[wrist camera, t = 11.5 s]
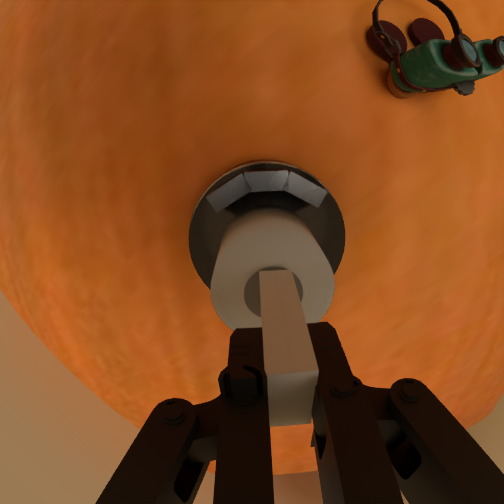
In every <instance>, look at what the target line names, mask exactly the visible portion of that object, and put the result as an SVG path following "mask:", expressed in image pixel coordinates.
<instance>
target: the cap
mask: <svg viewBox="0 0 504 504" xmlns="http://www.w3.org/2000/svg"><path fill="white" fill-rule="evenodd" d="M274 270H292V274H293V277H294V281H295V284H296V288H297V291H298V295H299V298H300V302H301V306H302V309H303V313H304V316H305V320H306V323H318V322H319V321H320V320H321V319H322V318H323V316H324V315H325V314H326V312H327V310H328V309H329V307H330V305H331V302H332V299H333V296H334V289H335V281H334V274H333V271H332V268H331V266H330V264H329V262H328V260H327V258H326V256H325V255H324V253H323V251H322V250H321V248H320V246H319V244H318V243H317V241H316V239H315V238H314V236H313V234H312V233H311V231H310V229H309V228H308V226H307V225H306V223H305V222H304V220H303V219H302V218H301V217H300V216H299V215H297V214H296V213H295V212H293V211H292V210H290V209H288V208H285V207H283V206H279V205H273V204H263V205H257V206H253V207H250V208H248V209H246V210H244V211H242V212H241V213H239V214H238V215H237V216H235V217H234V218H233V219H232V221H231V222H230V223H229V224H228V226H227V228H226V229H225V232H224V234H223V237H222V241H221V245H220V249H219V252H218V256H217V260H216V264H215V268H214V272H213V276H212V280H211V288H210V291H211V299H212V303H213V306H214V309H215V311H216V312H217V314H218V316H219V317H220V319H221V320H222V321H223V322H224V323H225V324H226V325H227V326H228V327H229V328H230V329H232V330H233V331H235V329H236V328H255V327H262V323H261V302H260V280H259V271H274Z"/></svg>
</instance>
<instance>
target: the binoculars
mask: <svg viewBox="0 0 504 504" xmlns="http://www.w3.org/2000/svg"><path fill="white" fill-rule="evenodd" d="M381 1H383V0H379V1H378V3H377V5H376V7H375V8H374V10H373V12H372V19H373V25H372V26H371V27H370V29H369V30H368V32H367V37H368V40H369V42H370V43H371V45H372V46H373V47H374V49H375V50H377V51H378V52H379V53H380V54H381V55H383V56H384V57H386V58H388V59H390V61H391V65H390V68H391V69H390V70H389V73H388V76H387V85H388V88H389V90H390V91H391V93H392V94H393V95H394V96H396V97H398V98H407V97H411V96H413V95H414V94H415V93H416V92H435V91H444V90H448V89H451V88H454V90H455V91H457V92H458V94H460V95H463V96H466V95H469V94H472V93H473V91H474V89H475V88H474V85H475V83H474V81H476V80H478V79H481V78H484V77H487V76H490V75H493V74H495V73H497V72H499V71H501V70H502V69H503V68H504V36H499V37H497V38H496V39H494V40H493V41H492V40H490V39H485V40H480V41H476V42H472V41H471V39H470V38H469V37H468V36H466V35H465V34H463V33H462V29H460V27H459V24H458V21H457V19H456V17H455V16H454V14H453V12H452V11H451V10H450V9H449V8H448V7H447V6H446V5H445V4H444V3H443V2H442V1H440V0H427V1H429V2H431V3H432V4H434V5H436V6H437V7H438V8H439V9H440V10H441V11H442V12H443V13H444V14H445V15H446V16H447V18H448V20H449V22H450V23H451V26H452V29H453V32H454V38H453V39H452V40H451V41H449V40H445V39H444V35H443V33H442V31H441V30H440V28H439V27H438V26H437V25H436V24H435V23H433V22H432V21H430V20H428V19H424V18H418V19H416V20H414V22H413V23H412V24H411V26H410V27H409V36H410V38H411V40H412V42H413V43H414V44H415V45H416V47H414V48H413V49H411V50H409V51H407V41H406V38H405V36H404V34H403V33H402V31H401V30H400V29H399V28H398V27H396V26H395V25H394V24H392V23H390V22H388V21H383V20H380V21H378V7H379V5H380V3H381ZM406 51H407V52H406Z"/></svg>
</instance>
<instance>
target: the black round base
mask: <svg viewBox="0 0 504 504" xmlns="http://www.w3.org/2000/svg"><path fill="white" fill-rule="evenodd" d="M263 204H273V205H279V206H283V207H285V208H288V209H290V210H292V211H293V212H295V213H296V214H297V215H299V216H300V217H301V218H302V219H303V220H304V222H305V223H306V225H307V226H308V228H309V229H310V231H311V233H312V234H313V236H314V238H315V239H316V241H317V243H318V244H319V246H320V248H321V250H322V251H323V253H324V255H325V256H326V258H327V260H328V262H329V264H330V266H331V268H332V271H333V274H335V272H336V271H337V269H338V267H339V264H340V262H341V259H342V256H343V252H344V246H345V227H344V221H343V218H342V214H341V211H340V209H339V207H338V205H337V203H336V201H335V199H334V198H333V196H332V195H331V193H330V192H329V190H328V189H327V188H326V187H325V186H324V185H323V184H322V183H321V182H320V181H319V180H318V179H317V178H315V177H314V176H312V175H311V174H309V173H308V172H306V171H305V170H303V169H300V168H298V167H296V166H293V165H291V164H288V163H285V162H282V161H276V160H254V161H250V162H246V163H243V164H240V165H238V166H235V167H233V168H232V169H230V170H228V171H227V172H225V173H224V174H223V175H221V176H220V177H219V178H218V179H217V180H215V181H214V182H213V183H212V184H211V185H210V186H209V187H208V189H207V190H206V191H205V192H204V194H203V195H202V197H201V198H200V200H199V202H198V203H197V205H196V207H195V210H194V213H193V215H192V219H191V224H190V229H189V249H190V254H191V258H192V261H193V264H194V267H195V269H196V271H197V273H198V275H199V276H200V278H201V279H202V281H203V282H204V283H205V284H206V286H207V287H208V288H209V289H210V288H211V280H212V276H213V272H214V268H215V264H216V260H217V256H218V252H219V249H220V245H221V241H222V237H223V234H224V232H225V229H226V228H227V226H228V224H229V223H230V222H231V221H232V219H233V218H234V217H235V216H237V215H238V214H239V213H241V212H242V211H244V210H246V209H248V208H250V207H253V206H257V205H263Z"/></svg>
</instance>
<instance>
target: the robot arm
mask: <svg viewBox="0 0 504 504" xmlns="http://www.w3.org/2000/svg"><path fill="white" fill-rule="evenodd" d="M259 280H260V302H261V323H262V327H255V328H236V329H235V331H234V332H233V334H232V335H231V336H230V344H229V356H228V366H227V367H226V368H225V369H224V370H223V371H221V372H220V375H219V377H218V382H219V387H220V392H221V394H220V395H219V396H218V397H217V398H215V399H213V400H211V401H209V402H205V403H201V404H197V405H192V404H191V403H190V402H189V401H187V400H184V399H180V398H172V399H167V400H164V401H162V402H161V403H159V404H158V405H157V406H156V407H155V408H154V409H153V411H152V412H151V414H150V416H149V417H148V419H147V420H146V422H145V424H144V425H143V427H142V429H141V430H140V432H139V433H138V435H137V437H136V438H135V440H134V442H133V443H132V445H131V446H130V448H129V450H128V452H127V453H126V455H125V456H124V458H123V460H122V461H121V463H120V464H119V466H118V468H117V469H116V471H115V472H114V474H113V476H112V478H111V479H110V481H109V482H108V484H107V485H106V487H105V489H104V490H103V492H102V494H101V495H100V497H99V498H98V500H97V502H96V504H193V501H194V499H195V497H196V495H197V491H198V490H199V487H200V485H201V483H202V480H203V477H204V475H205V473H206V471H207V468H208V466H209V463H210V461H213V460H216V471H215V485H214V498H213V504H274V492H273V491H274V490H273V473H272V456H271V439H270V427H274V426H288V425H299V424H309V423H311V420H312V418H313V424H314V430H313V435H312V440H311V447H315V453H316V459H317V465H318V471H319V477H320V484H321V491H322V498H323V504H404V503H403V499H402V496H401V492H400V490H401V491H402V493H403V495H404V496H405V498H406V499H407V501H408V502H409V504H504V474H503V473H502V472H501V470H500V469H499V468H498V467H497V466H496V465H495V463H494V462H493V461H492V460H491V459H490V457H489V456H488V455H487V454H486V453H485V452H484V450H483V449H482V448H481V447H480V446H479V445H478V443H477V442H476V441H475V440H474V439H473V438H472V437H471V435H470V434H469V433H468V432H467V431H466V430H465V429H464V427H463V426H462V425H461V424H460V423H459V422H458V421H457V419H456V418H455V417H454V416H453V415H452V414H451V413H450V412H449V411H448V409H447V408H446V407H445V406H444V405H443V404H442V403H441V402H440V401H439V400H438V398H437V397H436V396H435V395H434V394H433V393H432V392H431V391H430V390H429V389H428V388H427V386H426V385H424V384H423V383H422V382H420V381H418V380H416V379H413V378H404V379H400V380H398V381H396V382H395V383H393V385H392V386H391V388H390V389H387V388H374V387H369V386H366V385H363V384H362V382H361V381H360V379H358V378H357V377H355V376H353V374H352V372H351V369H350V366H349V364H348V361H347V358H346V356H345V353H344V351H343V348H342V347H341V343H340V340H339V338H338V335H337V332H336V330H335V328H333V327H332V326H331V325H330V324H329V323H328V322H318V323H306V320H305V316H304V313H303V309H302V306H301V302H300V298H299V295H298V291H297V288H296V284H295V281H294V277H293V274H292V270H274V271H259Z"/></svg>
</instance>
